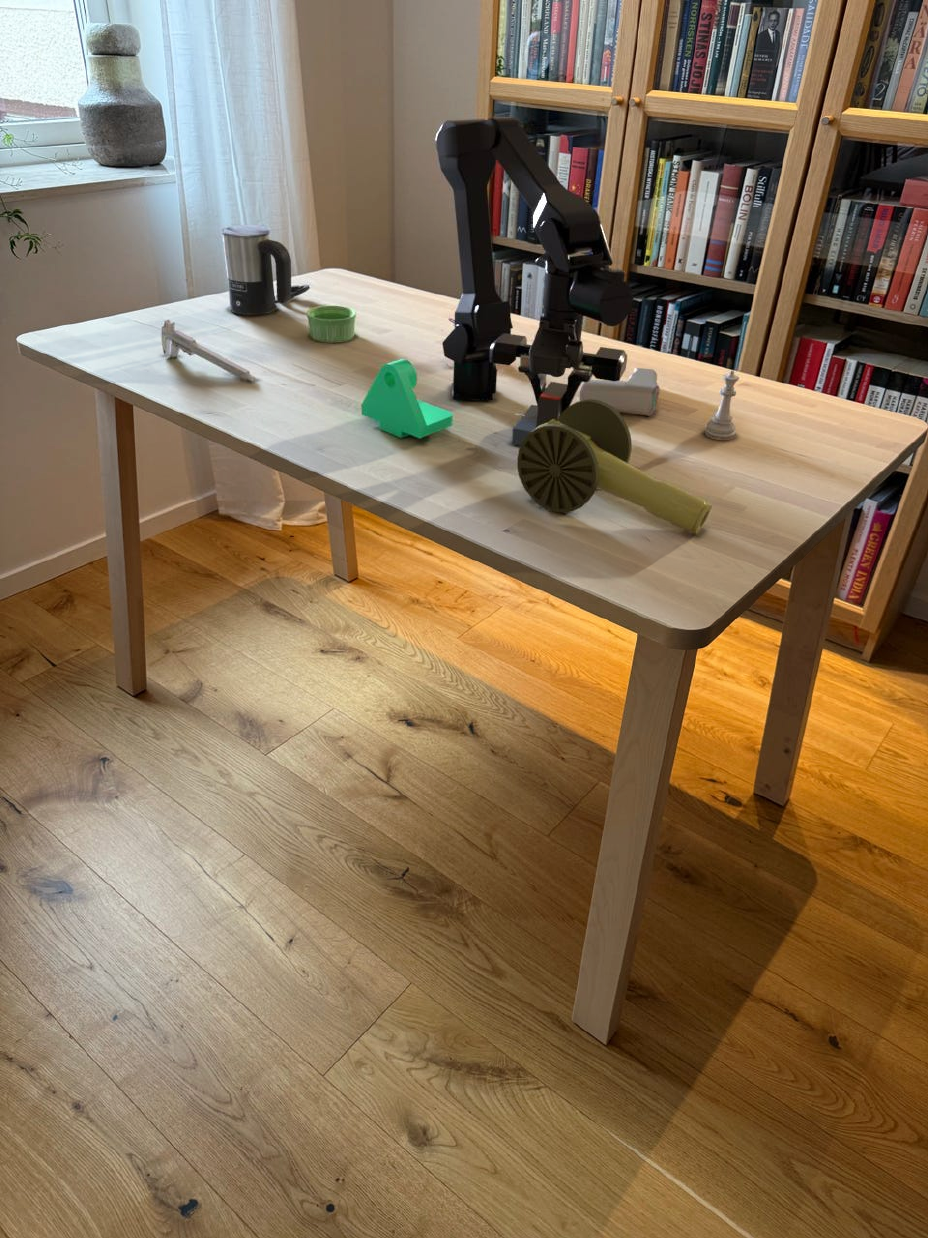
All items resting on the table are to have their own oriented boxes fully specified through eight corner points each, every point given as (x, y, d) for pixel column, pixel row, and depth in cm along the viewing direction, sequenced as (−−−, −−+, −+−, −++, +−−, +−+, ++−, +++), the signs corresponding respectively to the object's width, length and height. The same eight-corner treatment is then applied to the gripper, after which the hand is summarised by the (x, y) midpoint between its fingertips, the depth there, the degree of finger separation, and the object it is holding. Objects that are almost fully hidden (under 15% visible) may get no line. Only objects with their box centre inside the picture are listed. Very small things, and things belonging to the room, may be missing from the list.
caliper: (163, 355, 162) (158, 319, 158) (168, 354, 163) (163, 317, 159) (251, 382, 153) (248, 344, 149) (256, 380, 154) (252, 342, 150)
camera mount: (455, 430, 140) (457, 363, 134) (419, 445, 135) (420, 375, 129) (397, 408, 146) (397, 342, 140) (361, 421, 141) (360, 353, 136)
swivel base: (503, 444, 136) (504, 427, 135) (524, 417, 145) (525, 400, 144) (592, 460, 133) (594, 442, 132) (607, 431, 142) (610, 414, 141)
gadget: (547, 410, 141) (550, 379, 139) (567, 413, 140) (570, 382, 138) (536, 427, 136) (538, 396, 133) (556, 430, 135) (559, 399, 132)
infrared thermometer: (657, 391, 159) (655, 419, 146) (585, 383, 161) (577, 410, 148) (661, 364, 157) (659, 390, 144) (589, 357, 159) (580, 381, 146)
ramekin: (330, 325, 179) (329, 302, 177) (366, 335, 175) (366, 311, 172) (297, 336, 173) (296, 312, 170) (334, 347, 169) (333, 322, 166)
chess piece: (698, 431, 144) (710, 366, 138) (722, 427, 145) (735, 364, 139) (715, 442, 140) (729, 377, 135) (739, 438, 142) (754, 373, 136)
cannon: (719, 516, 121) (737, 433, 114) (686, 554, 112) (704, 467, 106) (546, 466, 131) (553, 387, 124) (503, 498, 122) (509, 415, 116)
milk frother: (221, 313, 182) (212, 232, 174) (249, 291, 195) (243, 215, 187) (292, 320, 181) (287, 238, 173) (316, 297, 194) (312, 221, 185)
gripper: (480, 312, 125) (474, 424, 133) (619, 331, 120) (604, 445, 129) (504, 291, 133) (497, 397, 142) (634, 308, 129) (619, 416, 138)
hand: (552, 414), depth 138 cm, fingers closed on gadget, 3 cm apart
